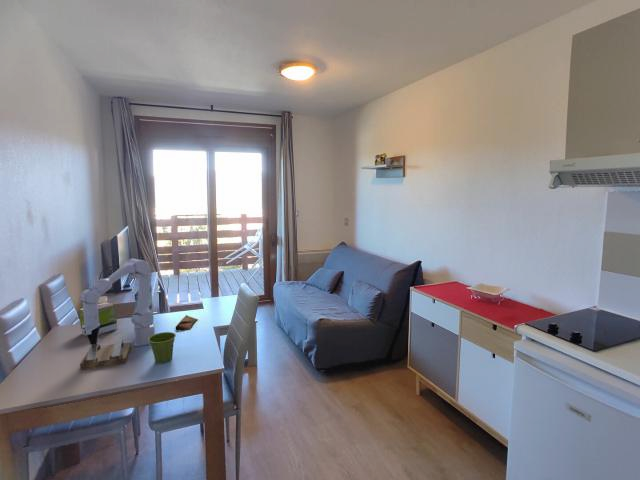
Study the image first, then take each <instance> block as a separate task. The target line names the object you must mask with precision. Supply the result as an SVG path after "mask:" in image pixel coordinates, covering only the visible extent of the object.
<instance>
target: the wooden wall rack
mask: <svg viewBox="0 0 640 480" xmlns="http://www.w3.org/2000/svg"><path fill="white" fill-rule="evenodd" d="M132 348H133V347H132V342H124V341H122V346H121V353H120V357H114V358H112V355H113V349H114V344H108V345H107V344H106V345H100V344H98V348H97V353H96V357H95V360H94V361H87V357H88V353H89V349H88V351H86V353H85V355H84V357H83V358H82V360H81V361H80V363H79V368H80V370H83V371H84V370H88V369H93V368H103V367H107V366H108V367H109V366H115V365H121V364H127V362H128V358H129V356H130V354H131V350H132Z"/></svg>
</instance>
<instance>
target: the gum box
mask: <svg viewBox="0 0 640 480" xmlns="http://www.w3.org/2000/svg"><path fill="white" fill-rule="evenodd" d="M152 288H153V287H152V285H151V286H150V297H149V307H148V308H149V310H150V311H151V317H152V323H151V325H153V323H154V308H153V306H154V305H153V292H152V291H153V289H152ZM137 300H138V291H136V292H135V293H134V306H135V309H136V308H137Z"/></svg>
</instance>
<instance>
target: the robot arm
mask: <svg viewBox="0 0 640 480" xmlns="http://www.w3.org/2000/svg"><path fill="white" fill-rule="evenodd" d="M127 274H135V275H136V276H138V277H139V280H138V281H139V283H138V289H137V292H138V300H137V308H136V307H135V308H134V310H133V314H132V315H131V318H130V319H131V323H132V324H133V327H134V337H135V342H134V344H133V347H139V346H140V347H141V346H147V345H149V346H150V342H149V341H148V338H149V337H151V336H152V335H155V334H156V329H155V324H153V323H152V317H151V311H150V310H149V308H148V307H149V297H150V286H151V287H152V284H151V283H152V276H153V274H152V272H151V269H150V263H148V262H147V261H146V260H144V259H137V258H130V259H128V260H127V261H125V262H124V263H123V264H122V265H121V266H120V267H119V268H118V269H117V270H115V271H114V272H113V273H112V274H111V275H110V276H108V277H106V278H101V279H100V278H99V279H98V280H97V282H96V283H95V284H93V285H92V286H89V287H88V289H85V290H83V291H82V292H81V293H80V295H79V300H80V301H81V302H82V308H83V314H84V324H85V325H83V326H82V328H85V331H84V332H85V334H86V335H87V336H86V335H85V336H86V337H87V338H88V340H89V343H90V345H93V344H96V343H97V338H99V337H98V336H99V335H98V333H99V330H100V327H99V326H100V323H99V315H98V305H97V304H98V302H99V300H100V297H101V296H103V295H104V294H105V293H106V292H107V291H109V290H110V289H112V287H113V284H114V283H116V282H117V281H119V280H120V279H121V278H122V277H124V276H126V275H127ZM151 323H152V325H151Z"/></svg>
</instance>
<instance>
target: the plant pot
mask: <svg viewBox="0 0 640 480" xmlns="http://www.w3.org/2000/svg"><path fill="white" fill-rule="evenodd" d="M175 338H176V333H174V332H172V331H171V332H170V331H165V332H163V331H162V332H159V333H155V335H152V336H151V337H149V338H148V341H149V342H150V344H149V346H151V349H152V354H153V357H154V360H155V362H156V364H157V363H158V364H164V363H166V362H170V361H171V360H172V359H173V353H174V345H175V344H174V343H175Z"/></svg>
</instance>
